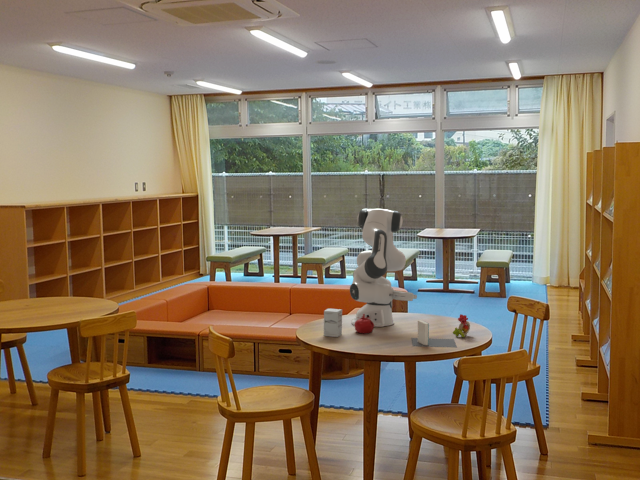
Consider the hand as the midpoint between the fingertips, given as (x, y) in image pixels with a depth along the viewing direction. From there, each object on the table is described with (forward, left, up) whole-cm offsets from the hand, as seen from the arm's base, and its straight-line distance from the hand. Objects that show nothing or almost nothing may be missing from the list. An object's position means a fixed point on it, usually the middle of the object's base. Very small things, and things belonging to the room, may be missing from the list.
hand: (409, 295), depth 300 cm
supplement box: (-36, +18, -24) cm, 47 cm away
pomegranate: (-22, +26, -24) cm, 41 cm away
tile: (+7, +4, -23) cm, 24 cm away
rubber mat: (+11, +6, -23) cm, 27 cm away
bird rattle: (+26, +23, -24) cm, 42 cm away
